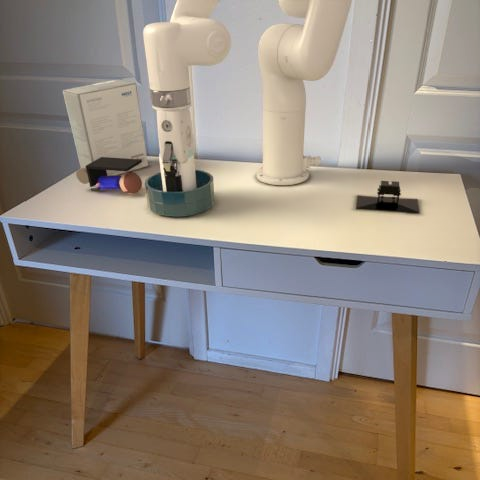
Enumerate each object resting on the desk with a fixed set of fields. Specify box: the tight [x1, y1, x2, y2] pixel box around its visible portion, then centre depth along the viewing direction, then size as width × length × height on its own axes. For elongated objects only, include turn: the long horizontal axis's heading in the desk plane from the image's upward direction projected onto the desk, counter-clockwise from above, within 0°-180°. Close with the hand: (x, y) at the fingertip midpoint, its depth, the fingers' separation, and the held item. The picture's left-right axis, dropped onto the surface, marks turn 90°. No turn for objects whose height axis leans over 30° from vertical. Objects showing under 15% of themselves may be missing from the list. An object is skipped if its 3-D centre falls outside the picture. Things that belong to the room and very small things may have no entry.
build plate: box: [355, 180, 420, 215], centre depth 101 cm, size 12×7×5 cm, turn 76°
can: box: [158, 146, 197, 191], centre depth 102 cm, size 7×7×12 cm
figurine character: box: [75, 157, 143, 195], centre depth 112 cm, size 7×8×15 cm
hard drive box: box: [62, 78, 149, 176], centre depth 120 cm, size 16×8×20 cm, turn 133°
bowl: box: [144, 168, 216, 217], centre depth 104 cm, size 14×14×6 cm
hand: (180, 186), depth 104 cm, fingers open, 8 cm apart
